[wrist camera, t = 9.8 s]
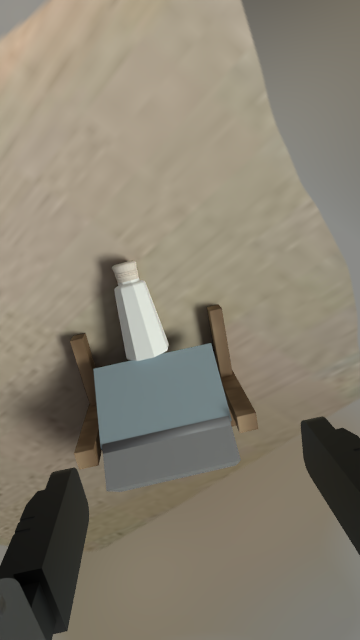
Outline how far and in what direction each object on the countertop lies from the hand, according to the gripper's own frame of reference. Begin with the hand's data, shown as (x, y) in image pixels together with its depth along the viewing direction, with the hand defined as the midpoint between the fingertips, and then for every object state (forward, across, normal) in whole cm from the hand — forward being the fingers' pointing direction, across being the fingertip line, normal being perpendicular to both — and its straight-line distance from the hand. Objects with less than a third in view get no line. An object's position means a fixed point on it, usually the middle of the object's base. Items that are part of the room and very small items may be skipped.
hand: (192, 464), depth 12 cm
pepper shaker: (+29, +3, +7) cm, 30 cm away
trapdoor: (+27, +2, +16) cm, 32 cm away
